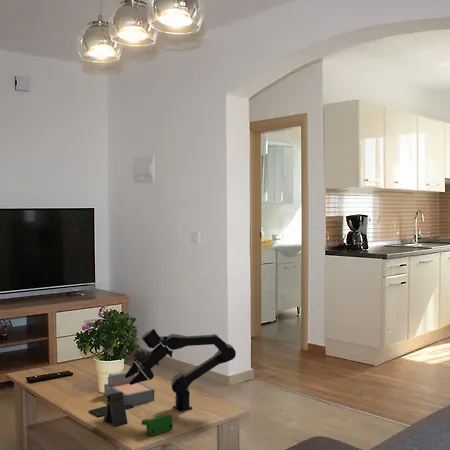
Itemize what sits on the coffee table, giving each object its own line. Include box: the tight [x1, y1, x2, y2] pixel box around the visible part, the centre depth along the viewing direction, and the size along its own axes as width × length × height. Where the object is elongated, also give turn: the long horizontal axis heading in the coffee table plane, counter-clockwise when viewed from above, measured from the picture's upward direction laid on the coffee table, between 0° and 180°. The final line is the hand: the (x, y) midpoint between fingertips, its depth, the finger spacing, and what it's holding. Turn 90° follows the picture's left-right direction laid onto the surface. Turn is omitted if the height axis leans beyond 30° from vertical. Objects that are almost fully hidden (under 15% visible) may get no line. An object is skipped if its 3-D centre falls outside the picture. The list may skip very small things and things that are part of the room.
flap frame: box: [103, 382, 155, 406], centre depth 265 cm, size 21×16×5 cm
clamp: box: [141, 413, 174, 436], centre depth 225 cm, size 12×6×9 cm, turn 128°
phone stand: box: [103, 392, 128, 428], centre depth 234 cm, size 9×6×12 cm, turn 42°
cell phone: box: [88, 405, 135, 418], centre depth 249 cm, size 9×18×1 cm, turn 133°
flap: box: [107, 369, 150, 395], centre depth 265 cm, size 19×12×10 cm, turn 37°
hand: (127, 380), depth 244 cm, fingers open, 9 cm apart
